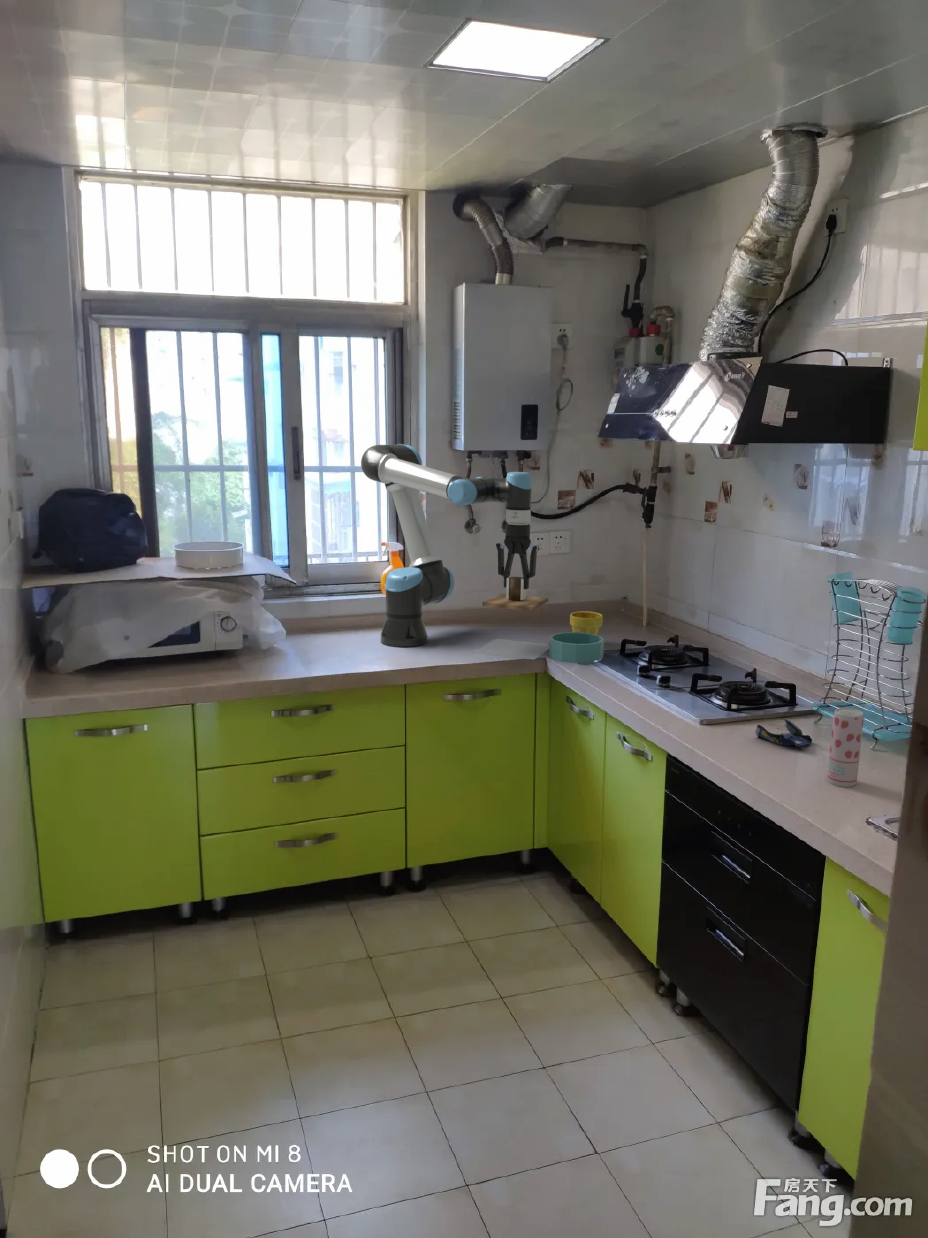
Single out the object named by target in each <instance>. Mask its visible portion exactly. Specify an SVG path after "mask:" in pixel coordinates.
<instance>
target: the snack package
mask: <svg viewBox="0 0 928 1238" xmlns="http://www.w3.org/2000/svg"><path fill="white" fill-rule="evenodd" d="M783 720H784V721H783ZM782 721H783V725H784V727H785V728H786V730H787V731H788V732H787V733H785V732H780V733H779V732H777V733H773V732H772V733H771V732H770V731H768V730H767V729H766V728H765V727H764V726H762V725H760V724H757V725H756V729H755V731H754V732H755V736H756V738H757V739H758V738H762V739H765V740H768V741H770V742H774V743H776V744H778V745H783V746H796V747H797V748H799V749H800V750H803V748H807V747H810V746H811V744H812V743H813V738H812V737H811V736H810V735H809V734H806V735H805V734H803V731H802V729H800V727H798V725H796V724H795V723H793V722H792V721H791V720H790V719H786V718H784V719H783V718H782ZM777 730H779V728H778V727H777Z"/></svg>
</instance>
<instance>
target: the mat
mask: <svg viewBox="0 0 928 1238" xmlns="http://www.w3.org/2000/svg"><path fill="white" fill-rule="evenodd" d="M547 651H549V643H547V644H546V643H537V642H530V641H529V642H528V641H520V640H519V641H517V640H510V639H503V638H495V639H493V640H491V641H489V642H487V643H485V645H483V646H481V647H479V648H478V649H475V650H474V651H473V652H472V653H473V654H474V653H475V654H483V655H489V656H490V655H492V656H500V657H507V658H508V657H509V658H516V659H523V660H524V659H526V660H536V659H538V658H539V657H540V656H542V655H543V654H545V653H546V652H547Z"/></svg>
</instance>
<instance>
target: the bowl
mask: <svg viewBox="0 0 928 1238" xmlns="http://www.w3.org/2000/svg"><path fill="white" fill-rule="evenodd" d="M548 638H549V642H548V645H549V650H548V656H549V657H550V658H551V659H553V660H557V661H559V662H565V663H574V664H575V663H577V665H591V664H594V663H593V662H594V661H595V660H599V659H600V658H602V657H603V658H604V652H605V651H604V647H605V645H604V644H605V639H604V638H603V637H602V636H601V635H599V634H598V635H594V634H590V633H580V632H573V631H570V632H569V631H568V632H566V631H565V632H558V633H554V634H552V635H550V636H549V637H548Z"/></svg>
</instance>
